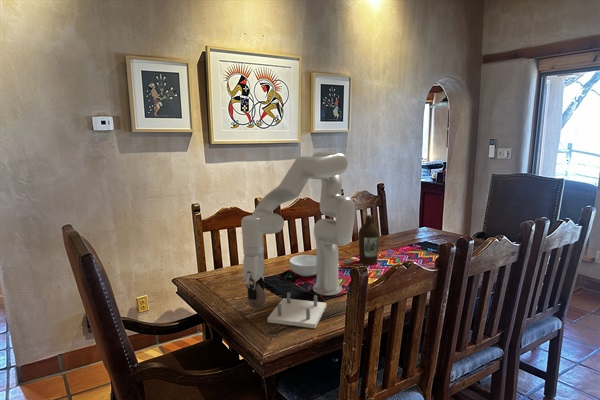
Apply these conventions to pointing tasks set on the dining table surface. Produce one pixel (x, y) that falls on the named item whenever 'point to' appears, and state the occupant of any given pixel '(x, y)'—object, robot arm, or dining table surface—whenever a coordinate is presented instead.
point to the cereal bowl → (303, 265)
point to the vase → (260, 298)
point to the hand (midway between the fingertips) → (256, 294)
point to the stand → (297, 312)
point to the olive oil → (368, 242)
